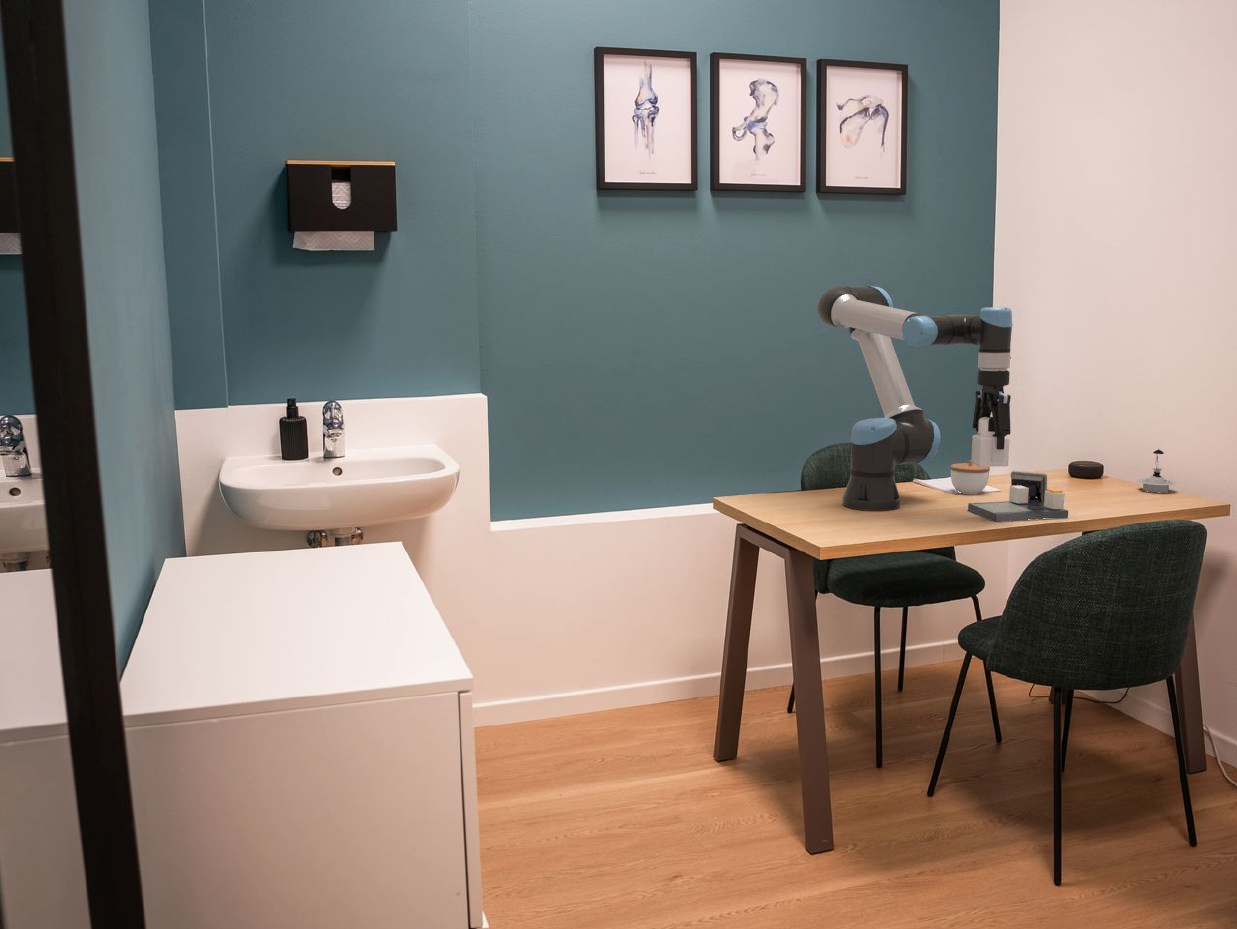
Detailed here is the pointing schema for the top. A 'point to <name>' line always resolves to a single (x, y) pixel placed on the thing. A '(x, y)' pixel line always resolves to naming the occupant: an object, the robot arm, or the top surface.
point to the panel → (1015, 511)
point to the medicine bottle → (986, 445)
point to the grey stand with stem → (1156, 480)
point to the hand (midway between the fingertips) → (989, 459)
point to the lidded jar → (969, 477)
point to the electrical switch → (1031, 483)
